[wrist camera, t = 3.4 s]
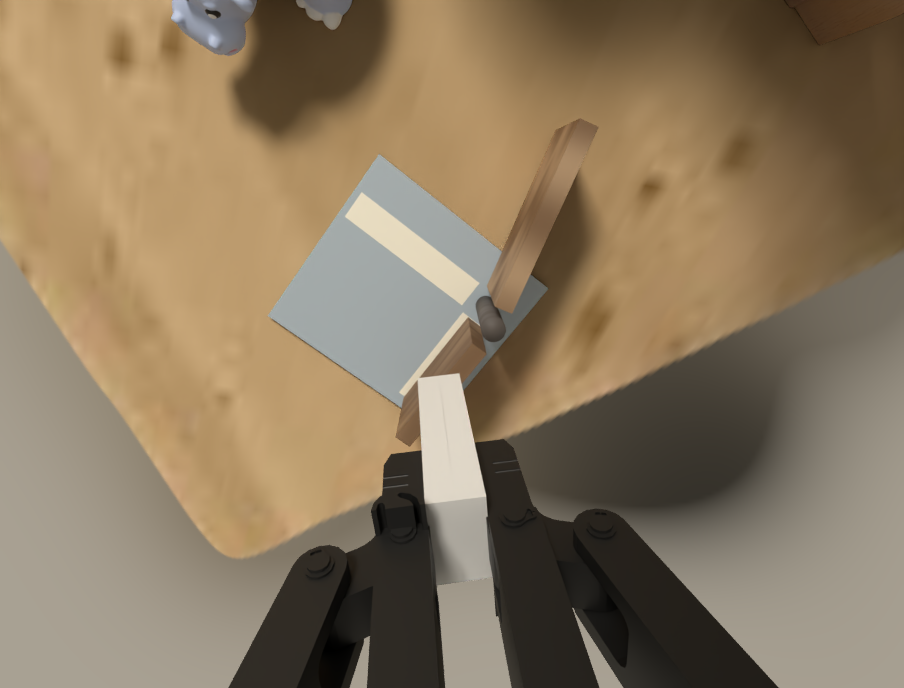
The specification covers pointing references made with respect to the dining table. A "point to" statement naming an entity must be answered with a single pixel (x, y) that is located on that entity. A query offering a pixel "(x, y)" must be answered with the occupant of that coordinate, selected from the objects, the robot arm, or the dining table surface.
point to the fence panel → (539, 212)
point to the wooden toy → (844, 15)
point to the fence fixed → (454, 361)
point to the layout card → (394, 284)
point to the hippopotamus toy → (240, 20)
